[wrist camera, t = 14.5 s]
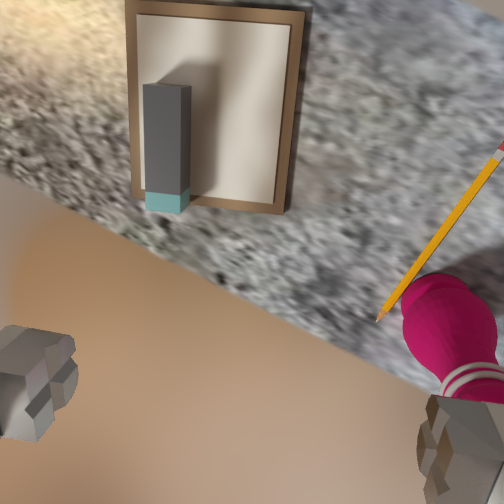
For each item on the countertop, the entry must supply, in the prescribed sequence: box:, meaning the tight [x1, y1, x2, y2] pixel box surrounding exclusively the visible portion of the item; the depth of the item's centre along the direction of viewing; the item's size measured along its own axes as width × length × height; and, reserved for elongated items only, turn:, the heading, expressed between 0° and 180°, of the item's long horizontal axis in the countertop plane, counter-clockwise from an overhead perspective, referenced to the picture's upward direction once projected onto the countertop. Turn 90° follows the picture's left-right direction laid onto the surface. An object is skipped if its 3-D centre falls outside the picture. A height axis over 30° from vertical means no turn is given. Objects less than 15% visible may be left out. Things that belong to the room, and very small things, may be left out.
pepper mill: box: [401, 274, 504, 404], centre depth 32 cm, size 7×7×20 cm
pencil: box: [376, 141, 504, 322], centre depth 39 cm, size 1×19×1 cm, turn 154°
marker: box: [143, 83, 192, 214], centre depth 37 cm, size 3×10×3 cm, turn 176°
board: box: [125, 0, 305, 215], centre depth 37 cm, size 14×16×1 cm
